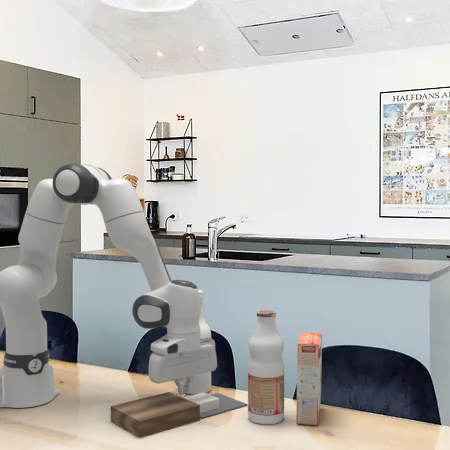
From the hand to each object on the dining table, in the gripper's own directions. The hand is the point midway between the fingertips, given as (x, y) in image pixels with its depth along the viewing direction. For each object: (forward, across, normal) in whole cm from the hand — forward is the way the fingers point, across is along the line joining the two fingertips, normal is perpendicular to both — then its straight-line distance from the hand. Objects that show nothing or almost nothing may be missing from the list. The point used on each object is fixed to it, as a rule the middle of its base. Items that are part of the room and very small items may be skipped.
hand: (184, 393), depth 158 cm
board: (+5, +9, 0) cm, 11 cm away
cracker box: (+6, -24, +23) cm, 34 cm away
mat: (+5, -9, 0) cm, 10 cm away
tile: (+5, -5, 0) cm, 7 cm away
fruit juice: (+6, -14, +17) cm, 23 cm away
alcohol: (+6, -14, -13) cm, 20 cm away
